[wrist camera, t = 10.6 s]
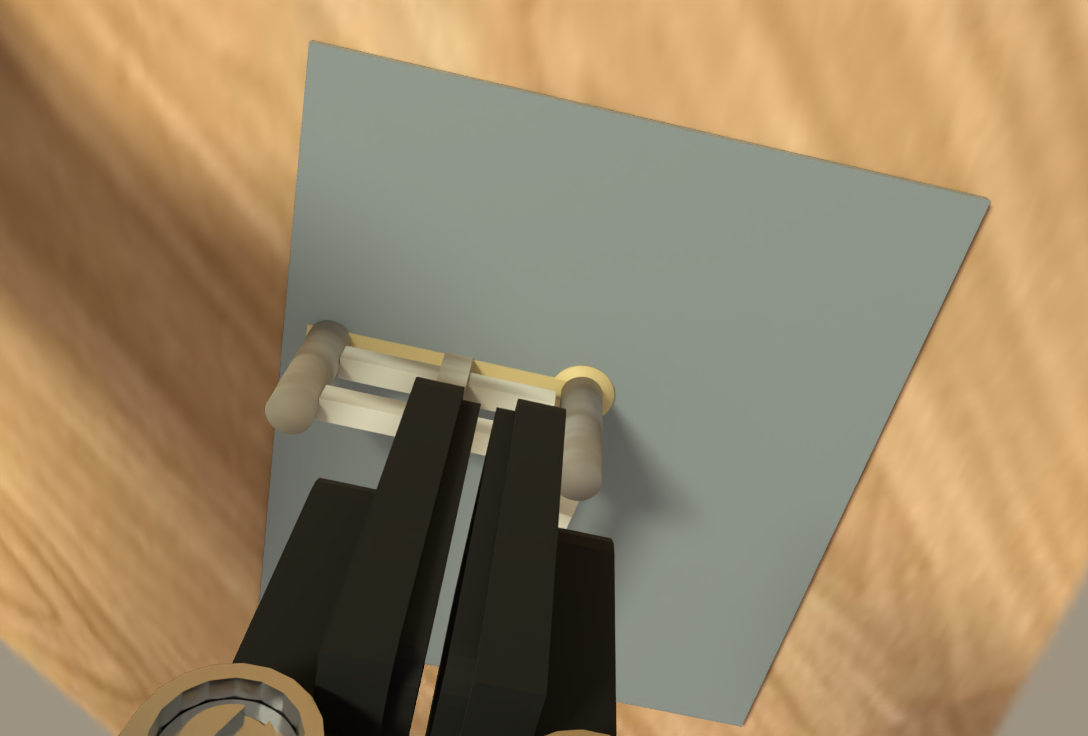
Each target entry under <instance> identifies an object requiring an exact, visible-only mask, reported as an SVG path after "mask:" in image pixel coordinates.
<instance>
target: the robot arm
mask: <svg viewBox="0 0 1088 736" xmlns="http://www.w3.org/2000/svg"><path fill="white" fill-rule="evenodd" d="M464 390H465V387H463V386H459V385H454V384H449V383H445V382H440V381H435V380H431V379H426V378H422V377H416V379H415V381H414V384H413V387H412V389H411V392H410V395H409V398H408V401H407V404H406V406H405V409H404V412H403V415H402V418H401V421H400V424H399V426H398V429H397V432H396V435H395V438H394V441H393V443H392V446H391V449H390V452H389V455H388V458H387V460H386V463H385V466H384V469H383V472H382V475H381V477H380V480H379V483H378V486H377V489H372V488H367V487H363V486H358V485H353V484H348V483H343V482H339V481H334V480H329V479H324V478H318V479H317V480H316V481H315V483H314V485H313V487H312V489H311V491H310V493H309V495H308V497H307V499H306V502H305V504H304V506H303V508H302V510H301V513H300V515H299V517H298V519H297V521H296V524H295V526H294V528H293V530H292V533H291V535H290V537H289V539H288V541H287V544H286V546H285V548H284V550H283V552H282V555H281V557H280V559H279V561H278V564H277V566H276V568H275V570H274V572H273V575H272V577H271V579H270V581H269V583H268V586H267V588H266V590H265V592H264V595H263V597H262V599H261V601H260V603H259V606H258V608H257V610H256V612H255V614H254V617H253V619H252V621H251V623H250V625H249V628H248V630H247V632H246V634H245V637H244V639H243V641H242V643H241V645H240V648H239V650H238V652H237V654H236V656H235V659H234V661H233V663H232V664H215V665H211V666H207V667H204V668H201V669H197V670H194V671H190V672H187V673H184V674H183V675H181V676H179V677H177V678H176V679H174V680H172V681H170V682H169V683H167V684H165V685H163V686H162V687H160V688H159V689H158V690H157V691H156V692H155V693H154V694H153V695H152V696H151V697H150V698H149V699H148V700H147V701H146V702H145V703H144V704H143V705H142V706H141V707H140V708H139V709H138V710H137V712H136V713H135V714H134V716H133V717H132V718H131V720H130V721H129V722H128V724H127V725H126V726H125V728H124V729H123V730H122V732H121V733H120V734H119V736H409V733H410V728H411V723H412V719H413V714H414V710H415V705H416V701H417V696H418V692H419V687H420V683H421V678H422V673H423V669H424V664H425V660H426V655H427V651H428V646H429V642H430V637H431V633H432V628H433V623H434V619H435V614H436V610H437V605H438V601H439V596H440V591H441V587H442V582H443V578H444V573H445V568H446V564H447V559H448V554H449V550H450V545H451V541H452V536H453V531H454V527H455V522H456V517H457V513H458V508H459V504H460V499H461V494H462V490H463V485H464V480H465V476H466V471H467V467H468V462H469V457H470V453H471V448H472V443H473V439H474V434H475V430H476V425H477V420H478V416H479V411H480V406H481V404H480V403H476V402H471V401H466V400H463V395H464ZM565 425H566V409H565V408H561V407H556V406H552V405H547V404H542V403H538V402H533V401H528V400H524V399H519V398H518V401H517V404H516V408H515V411H513V410H508V409H504V408H499V407H497V408H496V411H495V416H494V420H493V424H492V429H491V433H490V438H489V442H488V447H487V451H486V455H485V460H484V464H483V469H482V473H481V477H480V482H479V486H478V491H477V495H476V500H475V504H474V508H473V513H472V517H471V522H470V526H469V531H468V535H467V539H466V544H465V548H464V553H463V557H462V561H461V566H460V570H459V575H458V579H457V584H456V588H455V593H454V597H453V602H452V607H451V611H450V616H449V621H448V626H447V631H446V636H445V641H444V646H443V651H442V656H441V661H440V666H439V671H438V676H437V681H436V685H435V690H434V695H433V700H432V705H431V710H430V715H429V720H428V725H427V730H426V735H425V736H616V646H615V553H614V542H613V540H612V538H607V537H603V536H598V535H593V534H588V533H583V532H579V531H574V530H569V529H564V528H559V527H558V524H559V510H560V496H561V481H562V467H563V453H564V439H565Z"/></svg>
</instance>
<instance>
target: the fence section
mask: <svg viewBox="0 0 1088 736" xmlns="http://www.w3.org/2000/svg"><path fill="white" fill-rule="evenodd" d="M348 333H349V332H348V331H347V329H346V328H345V327H344V326H343V325H341V324H340V323H338V322H335V321H331V320H323V321H320V322H317V323H316V324H315V325H314V326H313V327H312V328H311V330H310V331H309V333H308V335H307V336H306V338H305V340H304V341H303V343H302V345H301V346H300V348H299V350H298V351H297V353H296V355H295V356H294V358H293V360H292V361H291V363H290V365H289V366H288V368H287V370H286V371H285V373H284V375H283V376H282V378H281V380H280V381H279V383H278V385H277V386H276V388H275V390H274V391H273V393H272V395H271V396H270V398H269V400H268V401H267V403H266V406H265V415H266V418H267V420H268V422H269V423H270V424H271V425H272V426H273V427H274V428H275V429H277V430H278V431H280V432H283V433H286V434H300V433H303V432H305V431H306V430H307V429H309V427H310V426H311V424H312V422H313V420H314V418H315V416H316V414H317V420H319V421H323V422H328V423H333V424H338V425H342V426H347V427H352V428H357V429H361V430H366V431H371V432H375V433H380V434H385V435H390V436H394V437H395V435H396V432H397V429H398V426H399V424H400V421H401V418H402V415H403V412H404V409H405V406H406V404H407V402H404V401H400V400H395V399H390V398H386V397H381V396H376V395H372V394H367V393H362V392H358V391H353V390H348V389H344V388H339V387H334V386H331V384H332V382H333V380H334V378H335V376H336V374H337V372H338V378H340V379H344V380H349V381H354V382H358V383H363V384H368V385H372V386H377V387H382V388H386V389H391V390H396V391H400V392H405V393H410V392H411V389H412V387H413V384H414V381H415V379H416V377H422V378H426V379H431V380H435V381H440V382H445V383H449V384H454V385H459V386H463V387H465V390H464V395H463V400H466V401H471V402H476V403H480V404H481V406H480V409H484V410H489V411H494V412H495V411H496V408H497V407H499V408H504V409H508V410H513V411H515V408H516V404H517V401H518V398H519V399H524V400H528V401H533V402H538V403H542V404H547V405H552V406H554V405H555V397H556V391H553V390H549V389H544V388H540V387H535V386H530V385H526V384H521V383H516V382H512V381H507V380H503V379H498V378H493V377H489V376H484V375H479V374H475V373H470V370H471V365H472V360H473V357H468V356H463V355H459V354H454V353H450V352H445V354H444V358H443V361H442V364H441V366H438V365H433V364H429V363H424V362H419V361H415V360H410V359H405V358H401V357H396V356H392V355H387V354H382V353H378V352H373V351H368V350H364V349H359V348H355V347H350V344H351V342H350V337H349V334H348ZM338 370H339V371H338ZM560 407H561V408H565V409H566V425H565V439H564V453H563V467H562V481H561V495H562V496H563V497H565V498H567V499H569V500H573V501H584V500H588V499H590V498H592V497H594V496H595V495H596V494H597V493H598V492H599V490H600V489H601V486H602V419H603V393H602V389H601V387H600V385H599V384H598V383H597V382H596V381H594V380H593V379H591V378H588V377H575V378H572V379H570V380H569V381H567V382H566V383H565V384H564V386H563V388H562V390H561V398H560ZM317 412H318V413H317ZM492 424H493V420H489V419H484V418H479V417H478V420H477V425H476V430H475V434H474V439H473V443H472V448H471V453H475V454H479V455H484V456H485V455H486V451H487V447H488V442H489V438H490V433H491V429H492Z"/></svg>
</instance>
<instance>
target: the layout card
mask: <svg viewBox="0 0 1088 736" xmlns="http://www.w3.org/2000/svg"><path fill="white" fill-rule="evenodd" d="M990 202H991V201H990V200H989V199H988V198H986V197H981V196H977V195H973V194H968V193H964V192H960V191H956V190H951V189H947V188H943V187H938V186H934V185H930V184H926V183H921V182H917V181H913V180H908V179H904V178H900V177H896V176H891V175H887V174H883V173H879V172H874V171H870V170H866V169H861V168H857V167H853V166H849V165H844V164H840V163H836V162H831V161H827V160H823V159H819V158H814V157H810V156H806V155H801V154H797V153H793V152H789V151H784V150H780V149H776V148H772V147H767V146H763V145H759V144H754V143H750V142H746V141H742V140H737V139H733V138H729V137H724V136H720V135H716V134H712V133H707V132H703V131H699V130H694V129H690V128H686V127H682V126H677V125H673V124H669V123H665V122H660V121H656V120H652V119H647V118H643V117H639V116H635V115H630V114H626V113H622V112H617V111H613V110H609V109H605V108H600V107H596V106H592V105H587V104H583V103H579V102H575V101H570V100H566V99H562V98H558V97H553V96H549V95H545V94H540V93H536V92H532V91H528V90H523V89H519V88H515V87H510V86H506V85H502V84H498V83H493V82H489V81H485V80H480V79H476V78H472V77H468V76H463V75H459V74H455V73H451V72H446V71H442V70H438V69H433V68H429V67H425V66H421V65H416V64H412V63H408V62H403V61H399V60H395V59H391V58H386V57H382V56H378V55H373V54H369V53H365V52H361V51H356V50H352V49H348V48H344V47H339V46H335V45H331V44H326V43H322V42H318V41H314V40H311V41H310V42H309V48H308V59H307V70H306V81H305V93H304V104H303V115H302V127H301V138H300V149H299V160H298V172H297V183H296V194H295V205H294V217H293V228H292V239H291V251H290V262H289V273H288V284H287V296H286V307H285V318H284V330H283V341H282V352H281V363H280V375H279V381H280V380H281V378H282V376H283V375H284V373H285V371H286V370H287V368H288V366H289V365H290V363H291V361H292V360H293V358H294V356H295V355H296V353H297V351H298V350H299V348H300V346H301V345H302V343H303V341H304V340H305V338H306V336H307V335H308V333H309V331H310V330H311V328H312V327H313V326H314V325H315V324H316V323H317V322H320V321H323V320H331V321H335V322H338V323H340V324H341V325H343V326H344V327H345V328H346V329H347V331H348V332H349V333H348V334H349V337H350V342H351V344H350V347H355V348H359V349H364V350H368V351H373V352H378V353H382V354H387V355H392V356H396V357H401V358H405V359H410V360H415V361H419V362H424V363H429V364H433V365H438V366H441V364H442V361H443V358H444V354H445V352H450V353H454V354H459V355H463V356H468V357H473V360H472V365H471V370H470V373H475V374H479V375H484V376H489V377H493V378H498V379H503V380H507V381H512V382H516V383H521V384H526V385H530V386H535V387H540V388H544V389H549V390H553V391H556V397H555V405H554V406H556V407H560V398H561V390H562V388H563V386H564V384H565V383H566V382H567V381H569V380H570V379H572V378H575V377H588V378H591V379H593V380H594V381H596V382H597V383H598V384H599V385H600V387H601V389H602V393H603V419H602V486H601V489H600V490H599V492H598V493H597V494H596V495H595V496H594V497H592V498H590V499H588V500H584V501H579V503H578V505H577V507H576V509H575V511H574V513H573V516H572V518H571V520H570V522H569V524H568V526H567V529H569V530H574V531H579V532H583V533H588V534H593V535H598V536H603V537H607V538H612V540H613V542H614V553H615V646H616V702H620V703H625V704H630V705H635V706H640V707H645V708H650V709H655V710H660V711H665V712H670V713H675V714H680V715H686V716H691V717H696V718H701V719H706V720H711V721H716V722H721V723H726V724H731V725H736V726H741V727H742V725H743V722H744V720H745V718H746V716H747V714H748V712H749V710H750V708H751V706H752V703H753V701H754V699H755V697H756V695H757V693H758V691H759V689H760V687H761V685H762V682H763V680H764V678H765V676H766V674H767V672H768V670H769V668H770V666H771V663H772V661H773V659H774V657H775V655H776V653H777V651H778V649H779V647H780V644H781V642H782V640H783V638H784V636H785V634H786V632H787V630H788V628H789V626H790V623H791V621H792V619H793V617H794V615H795V613H796V611H797V609H798V607H799V604H800V602H801V600H802V598H803V596H804V594H805V592H806V590H807V588H808V585H809V583H810V581H811V579H812V577H813V575H814V573H815V571H816V569H817V566H818V564H819V562H820V560H821V558H822V556H823V554H824V552H825V550H826V548H827V545H828V543H829V541H830V539H831V537H832V535H833V533H834V531H835V529H836V526H837V524H838V522H839V520H840V518H841V516H842V514H843V512H844V510H845V507H846V505H847V503H848V501H849V499H850V497H851V495H852V493H853V491H854V489H855V486H856V484H857V482H858V480H859V478H860V476H861V474H862V472H863V470H864V467H865V465H866V463H867V461H868V459H869V457H870V455H871V453H872V451H873V448H874V446H875V444H876V442H877V440H878V438H879V436H880V434H881V432H882V429H883V427H884V425H885V423H886V421H887V419H888V417H889V415H890V413H891V411H892V408H893V406H894V404H895V402H896V400H897V398H898V396H899V394H900V392H901V389H902V387H903V385H904V383H905V381H906V379H907V377H908V375H909V373H910V370H911V368H912V366H913V364H914V362H915V360H916V358H917V356H918V354H919V352H920V349H921V347H922V345H923V343H924V341H925V339H926V337H927V335H928V333H929V330H930V328H931V326H932V324H933V322H934V320H935V318H936V316H937V314H938V311H939V309H940V307H941V305H942V303H943V301H944V299H945V297H946V295H947V293H948V290H949V288H950V286H951V284H952V282H953V280H954V278H955V276H956V274H957V271H958V269H959V267H960V265H961V263H962V261H963V259H964V257H965V255H966V252H967V250H968V248H969V246H970V244H971V242H972V240H973V238H974V236H975V233H976V231H977V229H978V227H979V225H980V223H981V221H982V219H983V217H984V215H985V212H986V210H987V208H988V206H989V204H990ZM338 371H339V370H338ZM331 386H334V387H339V388H344V389H348V390H353V391H358V392H362V393H367V394H372V395H376V396H381V397H386V398H390V399H395V400H400V401H404V402H407V401H408V398H409V395H410V393H405V392H400V391H396V390H391V389H386V388H382V387H377V386H372V385H368V384H363V383H358V382H354V381H349V380H344V379H340V378H338V372H337V374H336V376H335V378H334V380H333V382H332V384H331ZM317 413H318V412H317ZM494 416H495V412H494V411H489V410H484V409H480V411H479V416H478V417H479V418H484V419H489V420H494ZM394 438H395V437H394V436H390V435H385V434H380V433H375V432H371V431H366V430H361V429H357V428H352V427H347V426H342V425H338V424H333V423H328V422H323V421H319V420H317V414H316V416H315V418H314V420H313V422H312V424H311V426H310V427H309V429H307V430H306V431H305V432H303V433H300V434H286V433H283V432H280V431H278V430H277V429H275V431H274V442H273V454H272V465H271V476H270V487H269V499H268V510H267V521H266V532H265V544H264V555H263V566H262V578H261V589H260V600H259V603H260V601H261V599H262V597H263V595H264V592H265V590H266V588H267V586H268V583H269V581H270V579H271V577H272V575H273V572H274V570H275V568H276V566H277V564H278V561H279V559H280V557H281V555H282V552H283V550H284V548H285V546H286V544H287V541H288V539H289V537H290V535H291V533H292V530H293V528H294V526H295V524H296V521H297V519H298V517H299V515H300V513H301V510H302V508H303V506H304V504H305V502H306V499H307V497H308V495H309V493H310V491H311V489H312V487H313V485H314V483H315V481H316V480H317V479H318V478H324V479H329V480H334V481H339V482H343V483H348V484H353V485H358V486H363V487H367V488H372V489H377V486H378V483H379V480H380V477H381V475H382V472H383V469H384V466H385V463H386V460H387V458H388V455H389V452H390V449H391V446H392V443H393V441H394ZM484 460H485V456H484V455H479V454H475V453H470V457H469V462H468V467H467V471H466V476H465V480H464V485H463V490H462V494H461V499H460V504H459V508H458V513H457V517H456V522H455V527H454V531H453V536H452V541H451V545H450V550H449V554H448V559H447V564H446V568H445V573H444V578H443V582H442V587H441V591H440V596H439V601H438V605H437V610H436V614H435V619H434V623H433V628H432V633H431V637H430V642H429V646H428V651H427V655H426V660H425V664H429V665H434V666H440V661H441V656H442V651H443V646H444V641H445V636H446V631H447V626H448V621H449V616H450V611H451V607H452V602H453V597H454V593H455V588H456V584H457V579H458V575H459V570H460V566H461V561H462V557H463V553H464V548H465V544H466V539H467V535H468V531H469V526H470V522H471V517H472V513H473V508H474V504H475V500H476V495H477V491H478V486H479V482H480V477H481V473H482V469H483V464H484Z"/></svg>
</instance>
